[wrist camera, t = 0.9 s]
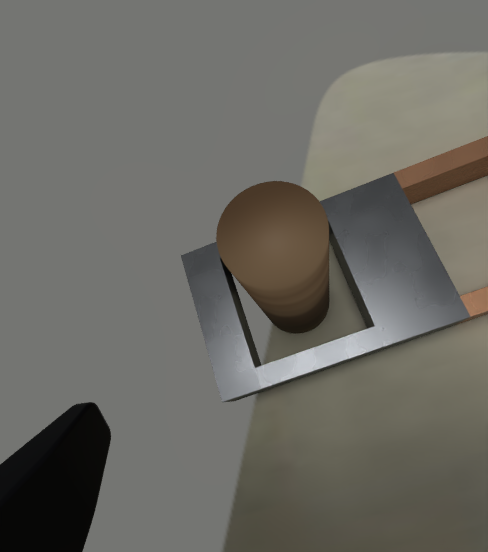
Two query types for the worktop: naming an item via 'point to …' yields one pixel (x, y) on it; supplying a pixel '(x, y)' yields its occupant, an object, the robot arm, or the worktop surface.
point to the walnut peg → (279, 252)
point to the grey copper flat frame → (351, 278)
